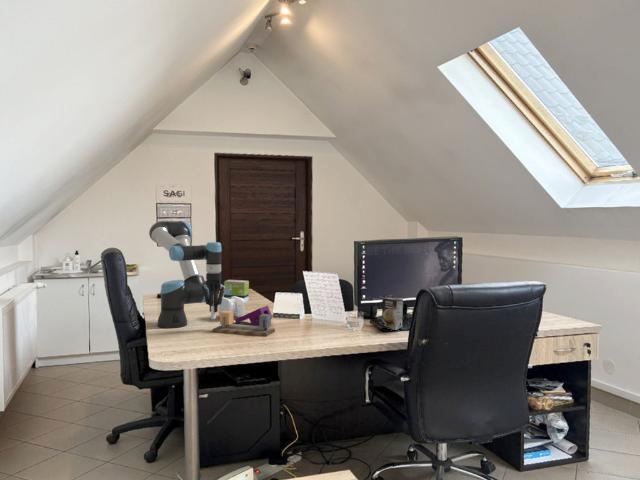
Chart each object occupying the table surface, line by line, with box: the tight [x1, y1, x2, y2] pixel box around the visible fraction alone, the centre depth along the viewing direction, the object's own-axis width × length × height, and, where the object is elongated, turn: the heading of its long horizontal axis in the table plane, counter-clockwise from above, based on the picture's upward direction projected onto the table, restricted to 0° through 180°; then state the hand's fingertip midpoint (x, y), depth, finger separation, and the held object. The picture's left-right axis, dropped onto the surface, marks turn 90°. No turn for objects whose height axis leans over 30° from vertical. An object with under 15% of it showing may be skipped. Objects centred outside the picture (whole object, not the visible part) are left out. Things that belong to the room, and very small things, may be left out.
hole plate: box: [211, 325, 276, 337], centre depth 243 cm, size 29×11×2 cm, turn 74°
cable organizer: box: [218, 296, 246, 318], centre depth 278 cm, size 15×11×12 cm
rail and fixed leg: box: [220, 313, 272, 331], centre depth 243 cm, size 26×6×8 cm, turn 74°
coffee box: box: [381, 296, 404, 330], centre depth 253 cm, size 9×6×16 cm
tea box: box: [223, 279, 250, 303], centre depth 334 cm, size 15×10×15 cm
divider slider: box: [219, 311, 234, 328], centre depth 246 cm, size 5×6×7 cm
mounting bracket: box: [234, 305, 273, 326], centre depth 262 cm, size 10×9×19 cm
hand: (213, 318), depth 248 cm, fingers closed
